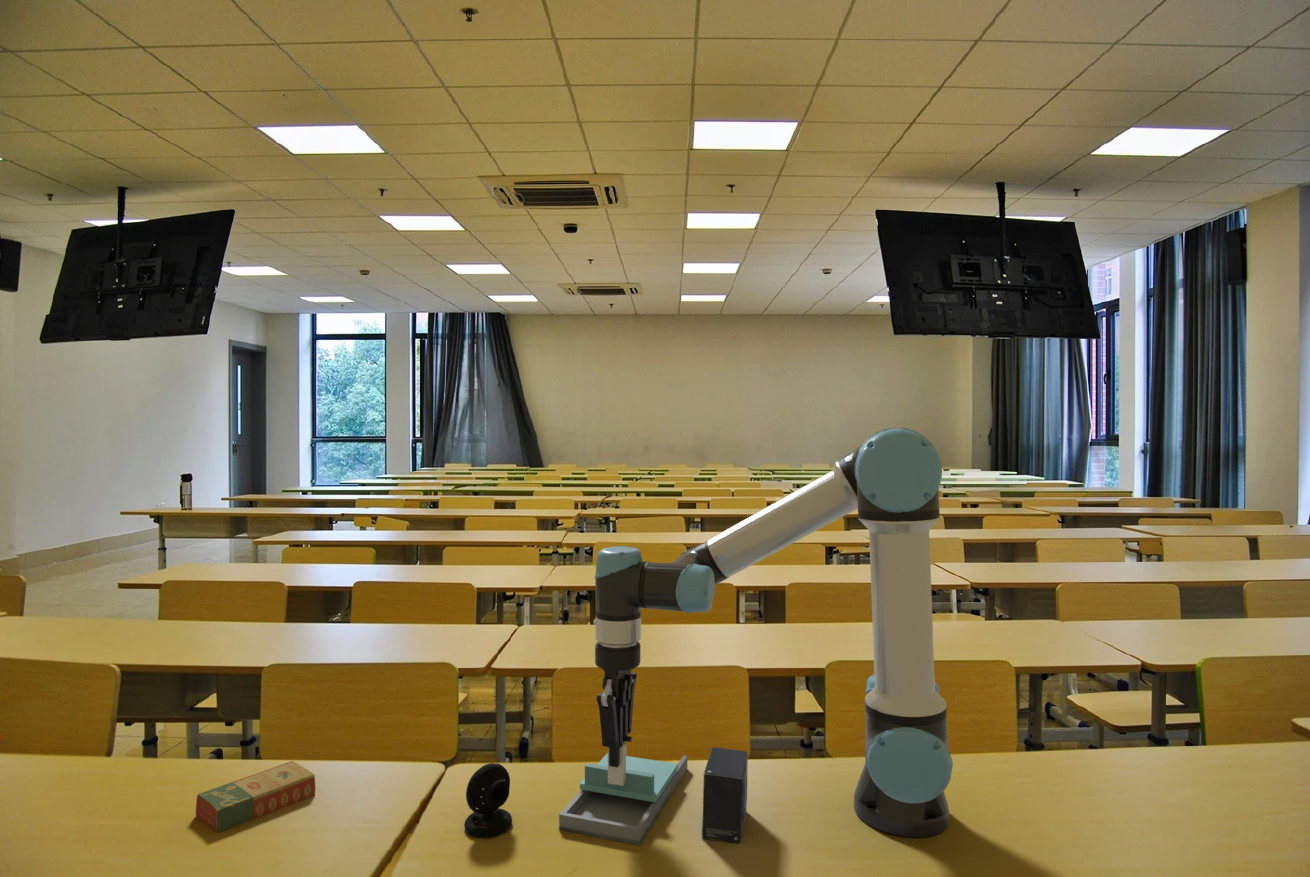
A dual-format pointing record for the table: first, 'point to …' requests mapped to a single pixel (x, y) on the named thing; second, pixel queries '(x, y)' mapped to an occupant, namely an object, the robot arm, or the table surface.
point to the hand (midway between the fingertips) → (616, 782)
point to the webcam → (488, 801)
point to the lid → (631, 778)
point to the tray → (616, 813)
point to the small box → (724, 795)
